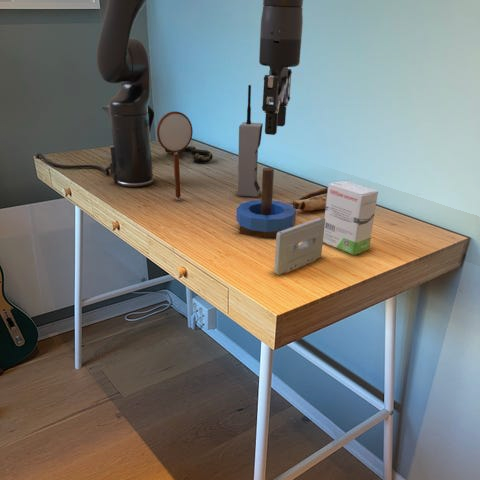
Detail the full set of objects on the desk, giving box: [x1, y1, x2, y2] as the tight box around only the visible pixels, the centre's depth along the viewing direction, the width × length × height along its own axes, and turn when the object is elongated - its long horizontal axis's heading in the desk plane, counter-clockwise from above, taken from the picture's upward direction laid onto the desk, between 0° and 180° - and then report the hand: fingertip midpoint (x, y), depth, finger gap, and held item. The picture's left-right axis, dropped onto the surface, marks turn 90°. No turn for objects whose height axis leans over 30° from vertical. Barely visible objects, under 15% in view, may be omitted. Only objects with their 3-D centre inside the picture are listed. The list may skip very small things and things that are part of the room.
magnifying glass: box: [156, 110, 194, 202], centre depth 113 cm, size 9×2×20 cm, turn 121°
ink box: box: [323, 180, 379, 256], centre depth 94 cm, size 9×5×12 cm, turn 39°
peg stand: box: [238, 167, 286, 239], centre depth 101 cm, size 9×9×12 cm
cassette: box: [273, 216, 325, 276], centre depth 87 cm, size 12×2×8 cm, turn 133°
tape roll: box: [235, 199, 297, 232], centre depth 103 cm, size 12×12×3 cm
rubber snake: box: [164, 145, 214, 164], centre depth 152 cm, size 18×5×10 cm
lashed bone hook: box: [292, 187, 328, 212], centre depth 116 cm, size 9×5×18 cm
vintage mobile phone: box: [237, 84, 264, 198], centre depth 117 cm, size 4×5×25 cm
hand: (275, 129), depth 98 cm, fingers open, 8 cm apart
